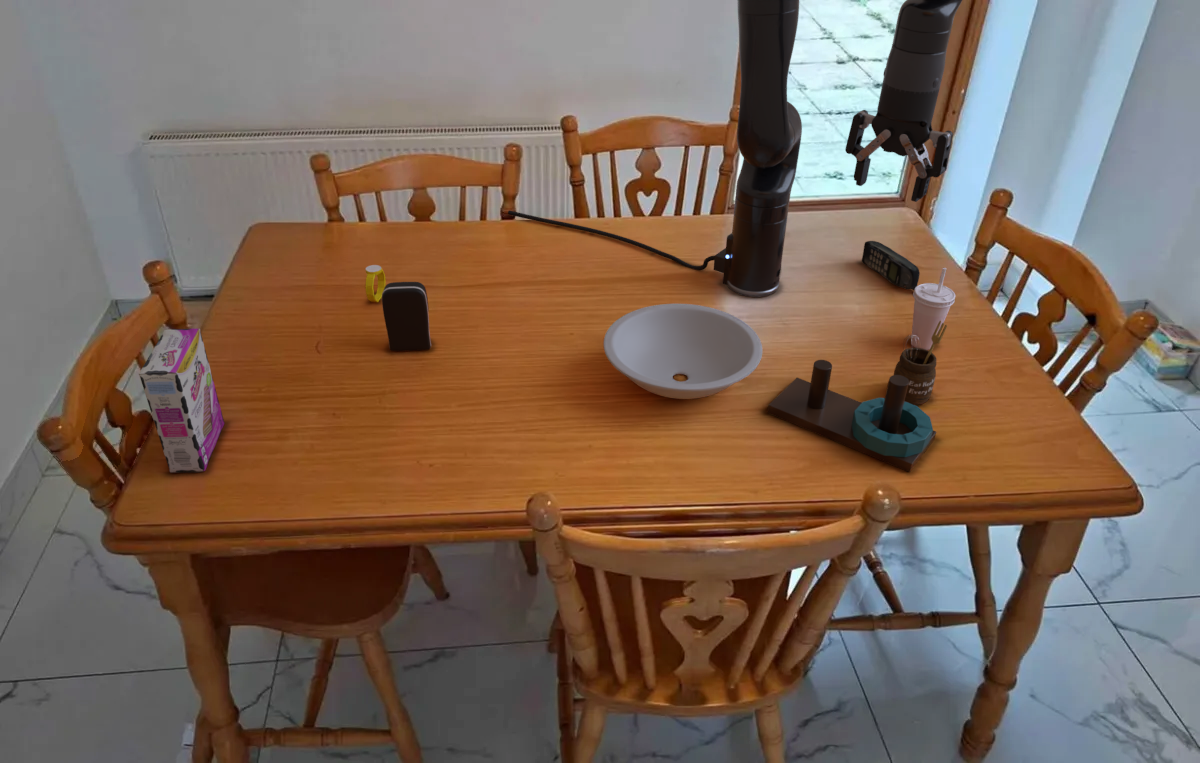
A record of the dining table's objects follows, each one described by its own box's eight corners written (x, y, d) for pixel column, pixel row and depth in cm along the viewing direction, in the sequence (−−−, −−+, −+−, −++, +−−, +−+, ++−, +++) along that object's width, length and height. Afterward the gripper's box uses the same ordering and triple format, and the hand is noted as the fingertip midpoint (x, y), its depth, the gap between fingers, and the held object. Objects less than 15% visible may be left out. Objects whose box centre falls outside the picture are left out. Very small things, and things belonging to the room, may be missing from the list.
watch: (379, 307, 162) (374, 277, 158) (363, 306, 162) (359, 276, 159) (391, 290, 167) (386, 261, 163) (376, 289, 167) (371, 260, 164)
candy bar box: (207, 472, 126) (176, 373, 116) (169, 474, 125) (135, 374, 116) (227, 422, 135) (200, 326, 125) (192, 424, 135) (162, 327, 125)
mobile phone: (862, 240, 174) (918, 272, 163) (874, 236, 175) (931, 269, 164) (858, 264, 177) (913, 298, 165) (870, 260, 178) (926, 294, 166)
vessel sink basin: (628, 437, 133) (629, 400, 129) (586, 349, 151) (585, 314, 148) (783, 411, 138) (789, 374, 134) (723, 328, 157) (727, 294, 153)
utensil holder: (881, 389, 143) (896, 322, 136) (914, 379, 145) (930, 313, 138) (906, 410, 138) (923, 342, 131) (940, 400, 140) (958, 332, 134)
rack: (767, 412, 138) (775, 353, 132) (795, 385, 143) (804, 327, 137) (909, 472, 127) (925, 410, 121) (934, 439, 133) (950, 379, 127)
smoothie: (944, 356, 150) (964, 280, 142) (903, 351, 151) (921, 275, 143) (940, 335, 155) (959, 260, 147) (901, 331, 156) (918, 256, 148)
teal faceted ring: (839, 437, 131) (842, 423, 129) (871, 402, 137) (874, 389, 136) (910, 466, 125) (914, 453, 124) (939, 429, 132) (943, 416, 131)
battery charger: (433, 338, 154) (426, 277, 147) (431, 351, 151) (424, 289, 144) (391, 340, 153) (382, 278, 147) (388, 352, 150) (379, 290, 144)
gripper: (973, 85, 125) (944, 197, 135) (874, 63, 132) (853, 171, 142) (952, 99, 120) (924, 214, 130) (851, 76, 127) (831, 186, 137)
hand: (887, 191), depth 136 cm, fingers open, 8 cm apart
